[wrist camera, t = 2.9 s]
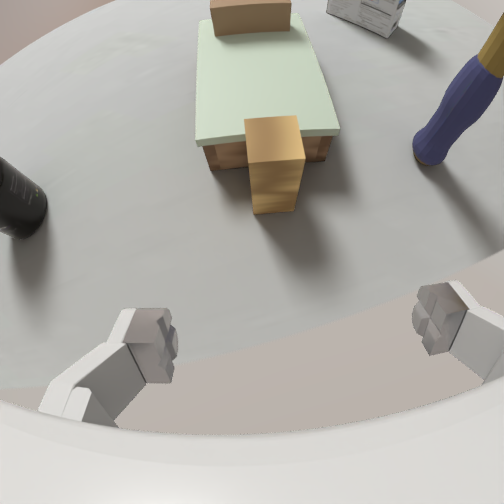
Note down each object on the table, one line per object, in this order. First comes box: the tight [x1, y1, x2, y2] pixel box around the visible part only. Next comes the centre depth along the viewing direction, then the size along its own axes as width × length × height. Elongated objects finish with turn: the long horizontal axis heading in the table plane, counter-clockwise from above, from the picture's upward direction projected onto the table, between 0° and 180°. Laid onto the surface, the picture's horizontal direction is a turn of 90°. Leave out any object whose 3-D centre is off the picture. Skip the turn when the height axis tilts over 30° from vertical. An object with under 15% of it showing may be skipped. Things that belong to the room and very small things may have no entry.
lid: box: [195, 0, 340, 147], centre depth 23 cm, size 12×19×5 cm, turn 5°
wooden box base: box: [202, 136, 333, 171], centre depth 28 cm, size 11×18×4 cm, turn 5°
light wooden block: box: [244, 115, 306, 215], centre depth 23 cm, size 4×4×9 cm
